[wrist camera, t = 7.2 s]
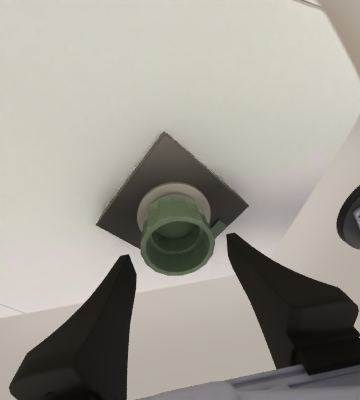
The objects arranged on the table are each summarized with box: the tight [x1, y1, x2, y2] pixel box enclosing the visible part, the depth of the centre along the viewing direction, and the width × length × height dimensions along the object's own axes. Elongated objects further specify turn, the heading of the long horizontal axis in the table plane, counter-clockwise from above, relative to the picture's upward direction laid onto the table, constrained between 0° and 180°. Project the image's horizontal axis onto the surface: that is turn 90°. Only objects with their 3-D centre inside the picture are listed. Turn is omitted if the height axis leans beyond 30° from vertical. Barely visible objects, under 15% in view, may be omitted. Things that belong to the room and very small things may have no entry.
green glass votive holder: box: [141, 194, 215, 276], centre depth 16 cm, size 6×6×4 cm
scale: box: [96, 132, 249, 249], centre depth 19 cm, size 11×11×3 cm
